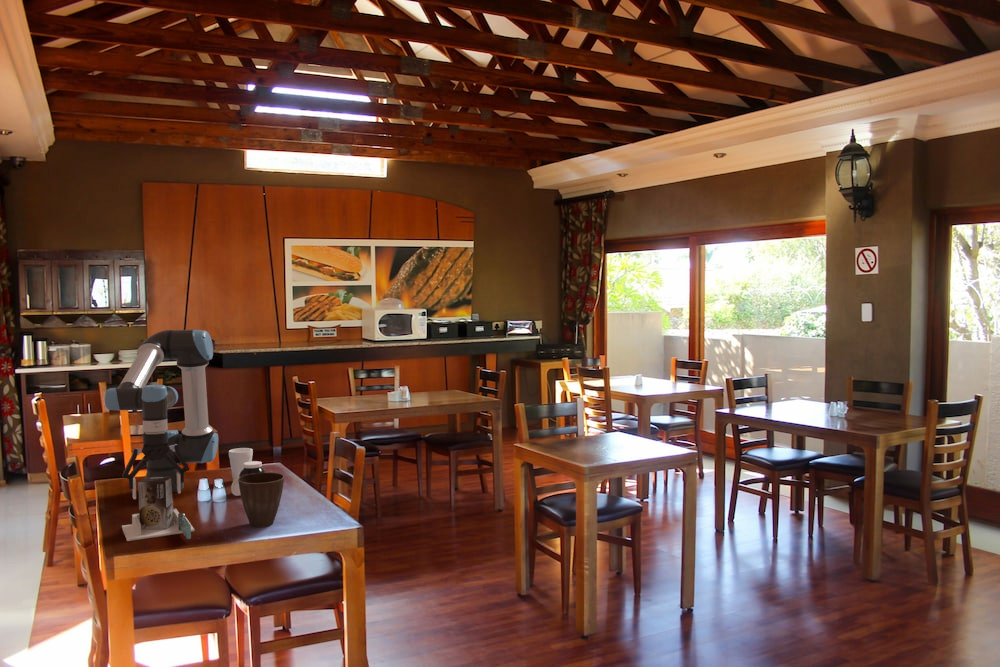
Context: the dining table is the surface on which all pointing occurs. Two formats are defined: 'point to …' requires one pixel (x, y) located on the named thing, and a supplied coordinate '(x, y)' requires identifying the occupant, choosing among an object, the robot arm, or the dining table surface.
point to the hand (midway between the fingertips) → (156, 495)
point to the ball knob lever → (184, 525)
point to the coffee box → (156, 502)
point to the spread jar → (248, 469)
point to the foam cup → (239, 460)
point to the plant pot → (261, 497)
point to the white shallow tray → (136, 533)
